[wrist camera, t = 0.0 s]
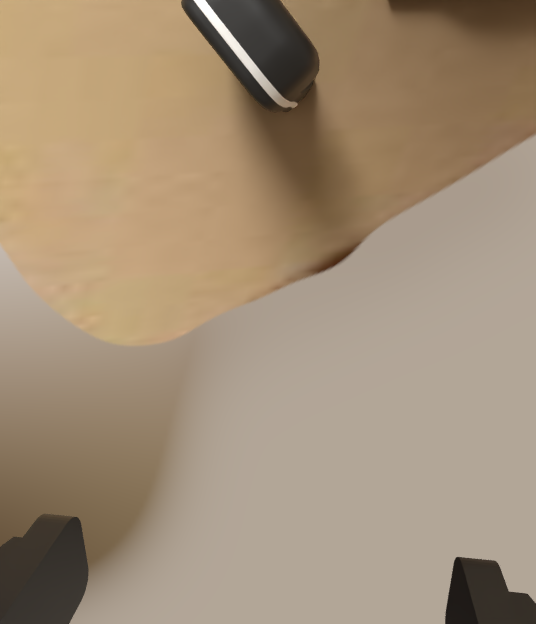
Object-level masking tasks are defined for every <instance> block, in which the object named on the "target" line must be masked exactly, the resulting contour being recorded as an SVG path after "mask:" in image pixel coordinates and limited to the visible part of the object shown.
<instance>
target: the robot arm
mask: <svg viewBox="0 0 536 624" xmlns="http://www.w3.org/2000/svg"><path fill="white" fill-rule="evenodd" d="M87 581H88V564H87V558H86V551H85V545H84V539H83V533H82V527H81V522H80V520H79V518H77V517H71V516H61V515H51V514H43V515H41V516H40V517H38V519H37V520H36V521H35V522H34V523H33V525H32V526H31V527H30V529H29V530H28V531H27V533H26V534H25V535H24V537H23V538H21V537H13V538H12V539H10V540H9V541H7V542H6V543H5V544H3V545H2V546H1V547H0V624H69V623H70V621H71V619H72V617H73V615H74V613H75V611H76V609H77V607H78V606H79V604H80V602H81V600H82V598H83V595H84V593H85V590H86V585H87ZM445 624H536V603H535V602H534V601H533V600H532V599H531V598H530V596H529V595H528V594H525V593H516V592H509V591H508V589H507V586H506V583H505V580H504V578H503V575H502V572H501V569H500V567H499V565H498V563H497V562H496V561H492V560H482V559H472V558H462V557H456V559H455V561H454V566H453V572H452V578H451V584H450V590H449V595H448V602H447V608H446V616H445Z"/></svg>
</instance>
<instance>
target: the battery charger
mask: <svg viewBox="0 0 536 624" xmlns="http://www.w3.org/2000/svg"><path fill="white" fill-rule="evenodd" d="M181 4H182V8H183V10H184V11H185V13H186V14H187V16H188V17H189V18H190V20H191V21H192V22H193V24H194V25H195V26H196V27H197V29H198V30H199V31H200V32H201V34H202V35H203V36H204V37H205V39H206V40H207V41H208V42H209V44H210V45H211V46H212V48H213V49H214V50H215V51H216V53H217V54H218V55H219V56H220V58H221V59H222V60H223V61H224V63H225V64H226V65H227V66H228V68H229V69H230V70H231V71H232V73H233V74H234V75H235V76H236V77H237V79H238V80H239V81H240V82H241V84H242V85H243V86H244V87H245V89H246V90H247V91H248V92H249V93H250V95H251V96H252V97H253V98H254V99H255V100H256V101H257V102H258V103H259V104H260V105H261V106H262V107H263V108H264V109H266V110H269V111H272V112H280V111H283V112H288V111H289V110H291V109H292V108H295V107H296V106H297V105H298V102H299V101H300V100H301V99H303V98H304V97H305V95H306V94H307V92H308V91H309V90H310V88H311V86H312V84H313V80H314V79H315V77H316V75H317V73H318V71H319V57H318V52H317V51H316V49H315V47H314V46H313V44H312V43H311V41H310V39H309V38H308V37H307V36H306V34H305V33H304V32H303V30H302V29H301V28H300V26H299V25H298V24H297V22H296V21H295V20H294V18H293V17H292V16H291V14H290V13H289V12H288V10H287V9H286V8H285V6H284V5H283V4H282V2H281V1H280V0H182V1H181Z"/></svg>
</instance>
